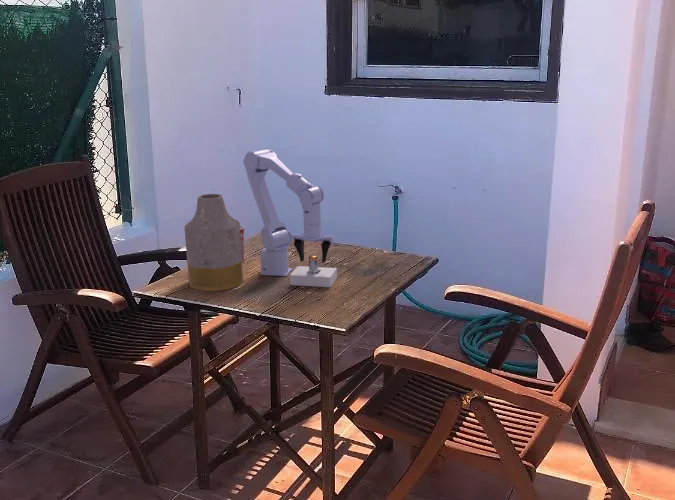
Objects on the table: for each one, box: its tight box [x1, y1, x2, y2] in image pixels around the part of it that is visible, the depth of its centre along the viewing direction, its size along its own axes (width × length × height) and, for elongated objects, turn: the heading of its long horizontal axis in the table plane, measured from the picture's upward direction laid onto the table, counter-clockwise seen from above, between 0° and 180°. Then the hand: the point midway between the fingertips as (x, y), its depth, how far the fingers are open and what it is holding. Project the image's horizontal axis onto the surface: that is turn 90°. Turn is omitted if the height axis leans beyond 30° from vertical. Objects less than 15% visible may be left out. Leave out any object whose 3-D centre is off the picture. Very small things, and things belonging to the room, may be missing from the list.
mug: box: [240, 224, 246, 264], centre depth 272 cm, size 13×9×14 cm
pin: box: [308, 254, 319, 274], centre depth 249 cm, size 3×3×9 cm
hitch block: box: [289, 265, 338, 288], centre depth 250 cm, size 14×10×4 cm
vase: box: [184, 193, 244, 293], centre depth 247 cm, size 18×18×30 cm
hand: (313, 261), depth 248 cm, fingers open, 7 cm apart
